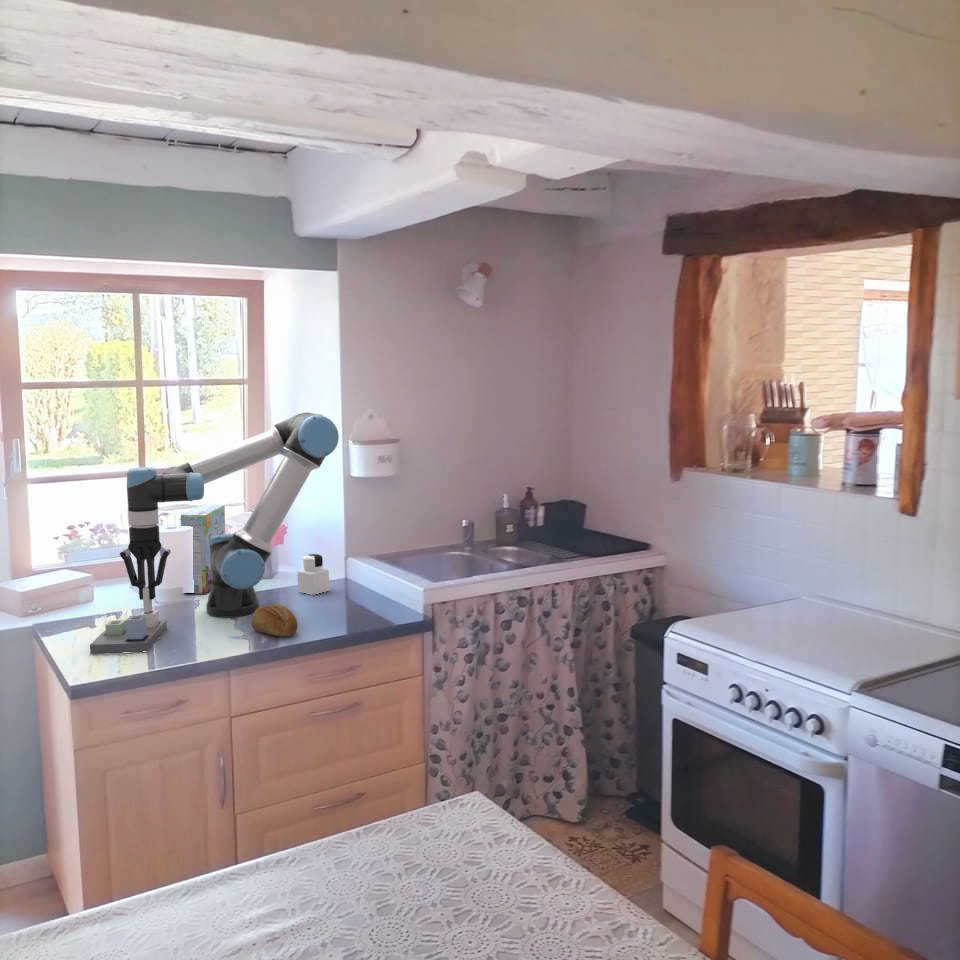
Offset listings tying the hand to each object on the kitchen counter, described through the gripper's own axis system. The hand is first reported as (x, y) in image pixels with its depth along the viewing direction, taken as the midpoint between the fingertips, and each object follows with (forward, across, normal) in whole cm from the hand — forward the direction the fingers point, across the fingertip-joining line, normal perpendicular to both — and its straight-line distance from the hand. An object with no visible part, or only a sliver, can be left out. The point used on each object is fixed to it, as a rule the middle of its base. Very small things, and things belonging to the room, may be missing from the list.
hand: (148, 610), depth 245 cm
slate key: (+4, 0, +12) cm, 12 cm away
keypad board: (+7, +3, +6) cm, 9 cm away
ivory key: (+6, 0, 0) cm, 6 cm away
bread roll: (+7, -34, +3) cm, 35 cm away
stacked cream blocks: (+6, -41, -40) cm, 57 cm away
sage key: (+6, +7, +6) cm, 11 cm away
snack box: (+7, -5, -51) cm, 52 cm away
